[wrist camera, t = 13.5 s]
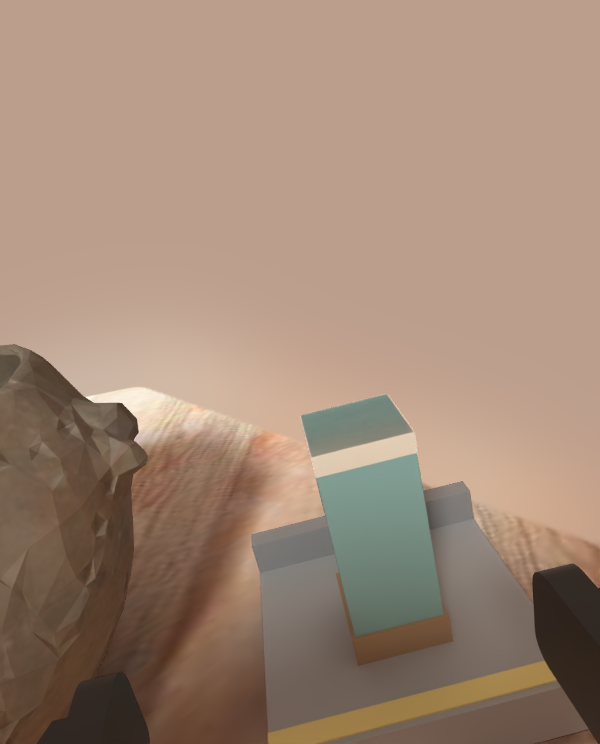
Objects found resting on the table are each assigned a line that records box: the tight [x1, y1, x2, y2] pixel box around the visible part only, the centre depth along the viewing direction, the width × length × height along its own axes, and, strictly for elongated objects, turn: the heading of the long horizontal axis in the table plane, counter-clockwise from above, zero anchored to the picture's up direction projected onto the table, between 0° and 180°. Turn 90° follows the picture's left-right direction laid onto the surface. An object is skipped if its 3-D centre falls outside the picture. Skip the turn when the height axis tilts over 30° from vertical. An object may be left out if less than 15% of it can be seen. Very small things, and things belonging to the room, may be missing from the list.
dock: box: [252, 481, 588, 744], centre depth 29 cm, size 14×13×5 cm
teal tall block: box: [300, 394, 453, 666], centre depth 27 cm, size 5×5×12 cm
